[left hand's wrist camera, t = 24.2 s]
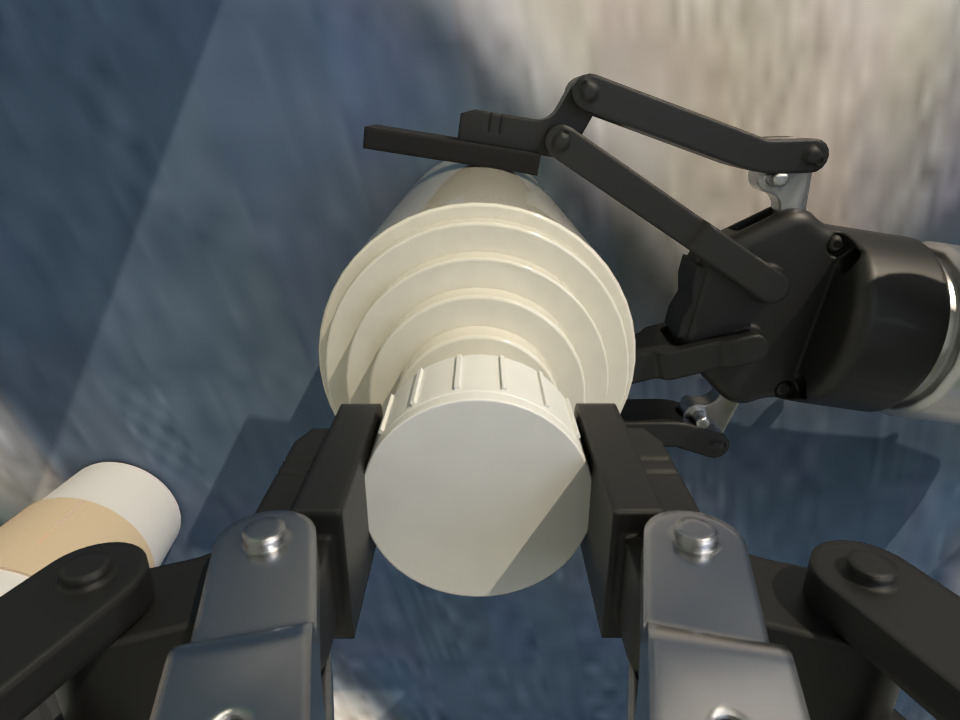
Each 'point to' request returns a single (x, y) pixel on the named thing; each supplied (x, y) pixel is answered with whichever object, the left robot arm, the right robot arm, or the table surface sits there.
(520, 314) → the bottle
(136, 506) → the coffee cup
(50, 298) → the table surface
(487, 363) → the cap
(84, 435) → the table surface
